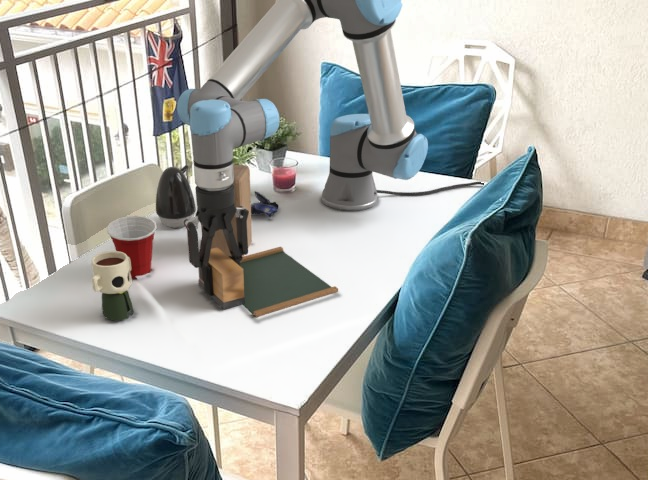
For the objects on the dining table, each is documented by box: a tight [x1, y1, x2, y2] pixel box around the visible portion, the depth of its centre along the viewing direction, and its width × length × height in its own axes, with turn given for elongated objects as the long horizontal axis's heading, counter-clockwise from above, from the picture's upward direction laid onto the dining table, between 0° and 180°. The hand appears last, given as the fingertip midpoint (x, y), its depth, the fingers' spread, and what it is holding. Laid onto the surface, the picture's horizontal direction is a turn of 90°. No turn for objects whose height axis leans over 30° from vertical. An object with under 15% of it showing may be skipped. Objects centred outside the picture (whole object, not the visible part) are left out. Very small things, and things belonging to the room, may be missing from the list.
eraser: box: [197, 247, 245, 310], centre depth 146 cm, size 5×12×8 cm, turn 30°
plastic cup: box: [106, 215, 158, 280], centre depth 155 cm, size 11×11×12 cm
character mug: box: [91, 250, 135, 322], centre depth 140 cm, size 11×7×13 cm, turn 150°
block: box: [200, 164, 253, 257], centre depth 163 cm, size 10×10×20 cm
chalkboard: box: [240, 246, 339, 318], centre depth 153 cm, size 20×24×2 cm
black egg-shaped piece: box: [155, 164, 197, 229], centre depth 178 cm, size 10×10×15 cm
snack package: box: [251, 191, 280, 220], centre depth 186 cm, size 12×6×12 cm
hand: (221, 289), depth 148 cm, fingers closed on eraser, 5 cm apart
